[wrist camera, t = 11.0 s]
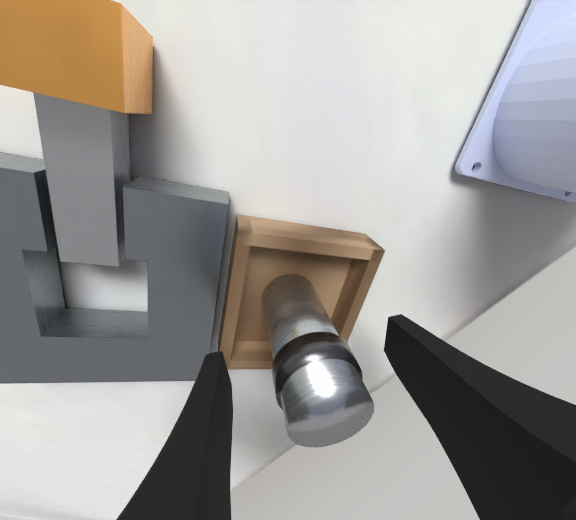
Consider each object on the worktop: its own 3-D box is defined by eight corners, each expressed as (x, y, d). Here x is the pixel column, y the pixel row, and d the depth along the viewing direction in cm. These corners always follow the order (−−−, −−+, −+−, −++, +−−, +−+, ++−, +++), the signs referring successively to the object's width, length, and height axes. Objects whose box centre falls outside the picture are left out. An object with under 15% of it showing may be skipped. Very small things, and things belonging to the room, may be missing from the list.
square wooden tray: (365, 234, 15) (385, 250, 13) (325, 343, 18) (336, 368, 16) (236, 214, 13) (238, 230, 11) (218, 340, 16) (217, 369, 14)
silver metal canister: (316, 266, 14) (382, 375, 8) (317, 314, 16) (374, 435, 10) (255, 277, 14) (278, 401, 8) (262, 325, 15) (286, 459, 9)
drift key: (25, -2, 8) (-74, -60, 6) (152, 37, 9) (120, 3, 7) (61, 239, 12) (11, 276, 9) (151, 249, 13) (130, 285, 10)
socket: (-58, 142, 10) (-122, 147, 8) (228, 191, 12) (229, 204, 11) (5, 350, 14) (-27, 383, 12) (208, 352, 16) (205, 380, 15)
